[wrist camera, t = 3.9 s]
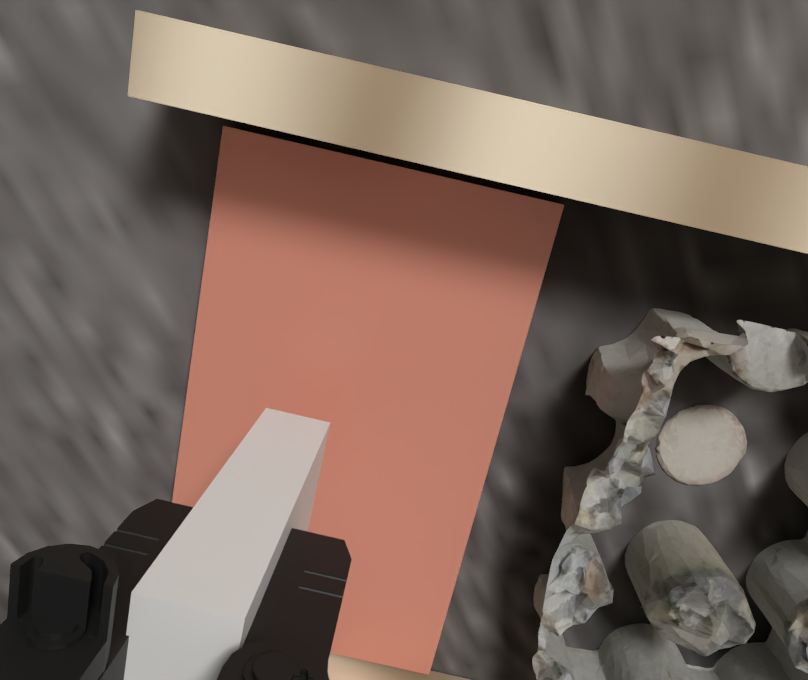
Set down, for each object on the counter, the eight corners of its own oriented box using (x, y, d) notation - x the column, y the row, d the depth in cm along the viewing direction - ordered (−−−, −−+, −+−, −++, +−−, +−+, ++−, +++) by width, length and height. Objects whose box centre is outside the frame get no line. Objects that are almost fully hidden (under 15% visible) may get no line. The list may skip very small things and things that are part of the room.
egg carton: (602, 278, 16) (656, 316, 12) (899, 342, 16) (1051, 401, 12) (498, 631, 19) (513, 756, 15) (749, 685, 19) (832, 824, 15)
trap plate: (162, 604, 19) (156, 614, 18) (228, 126, 15) (223, 125, 15) (429, 664, 19) (429, 674, 18) (561, 203, 15) (564, 205, 15)
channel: (123, 644, 19) (67, 729, 16) (195, 39, 14) (135, 9, 12) (834, 802, 19) (902, 914, 17) (1132, 257, 15) (1301, 281, 12)
